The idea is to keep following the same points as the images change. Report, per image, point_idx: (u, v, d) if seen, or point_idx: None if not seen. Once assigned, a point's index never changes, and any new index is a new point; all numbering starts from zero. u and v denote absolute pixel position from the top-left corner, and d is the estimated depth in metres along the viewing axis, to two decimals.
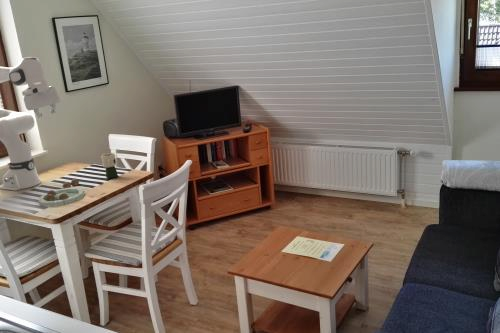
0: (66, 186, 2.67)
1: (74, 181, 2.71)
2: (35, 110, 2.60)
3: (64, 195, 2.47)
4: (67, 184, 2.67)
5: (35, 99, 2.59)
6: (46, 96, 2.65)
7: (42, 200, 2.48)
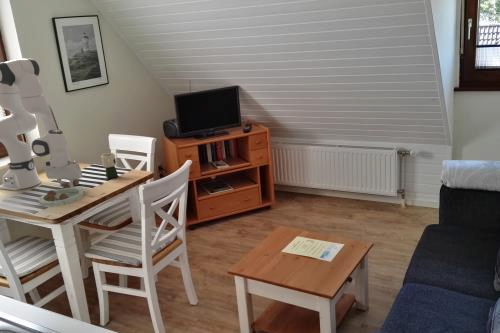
0: (66, 186, 2.67)
1: (74, 181, 2.71)
2: None
3: (64, 195, 2.47)
4: (67, 184, 2.67)
5: (52, 170, 2.67)
6: (64, 170, 2.64)
7: (42, 200, 2.48)
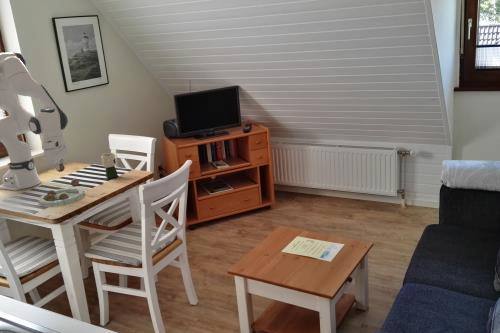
0: None
1: (74, 181, 2.71)
2: (55, 163, 2.50)
3: (64, 195, 2.47)
4: None
5: (55, 153, 2.47)
6: (60, 149, 2.54)
7: (42, 200, 2.48)
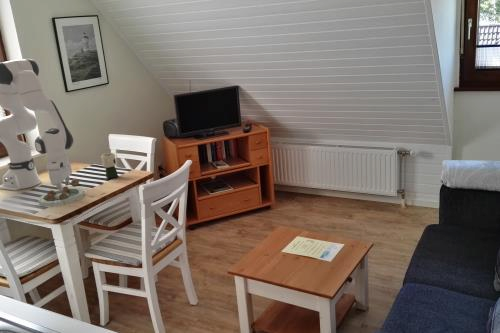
0: None
1: (74, 181, 2.71)
2: (58, 184, 2.51)
3: (64, 195, 2.47)
4: None
5: (59, 173, 2.50)
6: (65, 169, 2.57)
7: (42, 200, 2.48)
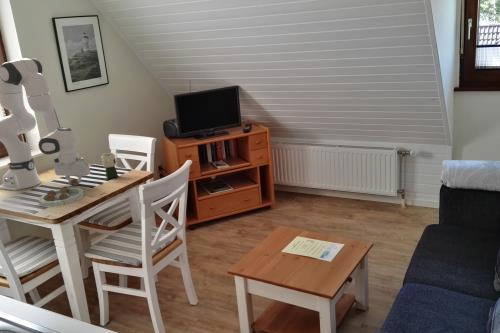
0: None
1: (74, 181, 2.71)
2: None
3: (64, 195, 2.47)
4: None
5: (60, 167, 2.71)
6: (72, 167, 2.69)
7: (42, 200, 2.48)
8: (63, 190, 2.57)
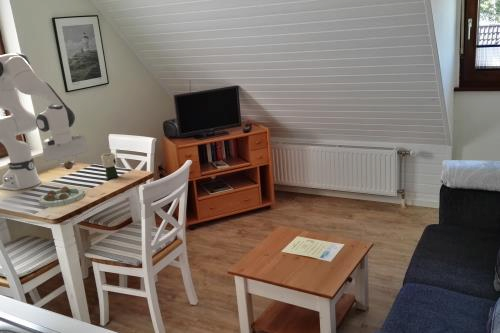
0: None
1: (70, 163, 2.51)
2: (57, 160, 2.49)
3: (64, 195, 2.47)
4: None
5: (52, 150, 2.46)
6: (69, 147, 2.49)
7: (42, 200, 2.48)
8: (63, 189, 2.57)
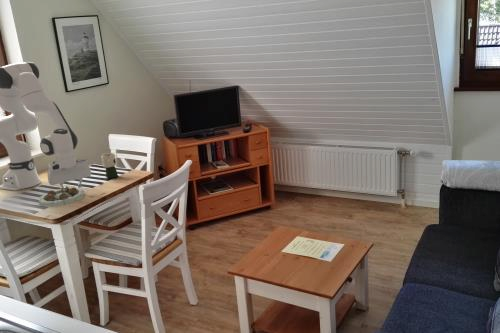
0: None
1: (74, 189, 2.55)
2: None
3: (64, 195, 2.47)
4: None
5: (57, 174, 2.49)
6: (73, 170, 2.52)
7: (42, 200, 2.48)
8: None
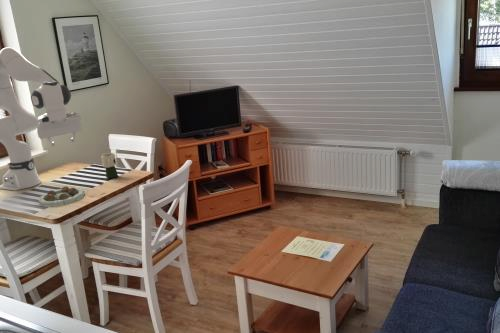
0: None
1: (74, 189, 2.55)
2: (47, 138, 2.45)
3: (64, 195, 2.47)
4: None
5: (47, 128, 2.42)
6: (63, 124, 2.46)
7: (42, 200, 2.48)
8: (64, 188, 2.58)
